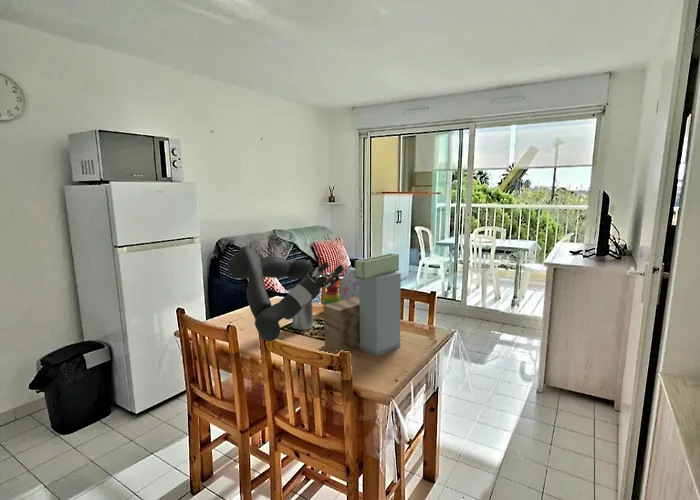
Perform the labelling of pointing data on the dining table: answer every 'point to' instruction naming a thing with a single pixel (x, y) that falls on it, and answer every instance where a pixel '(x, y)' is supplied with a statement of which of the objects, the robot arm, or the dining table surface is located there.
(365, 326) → the block
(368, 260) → the sage crate
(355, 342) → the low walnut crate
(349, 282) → the lunch bag
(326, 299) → the stacking bear
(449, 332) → the dining table surface
